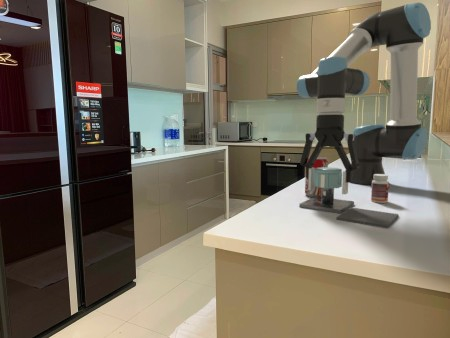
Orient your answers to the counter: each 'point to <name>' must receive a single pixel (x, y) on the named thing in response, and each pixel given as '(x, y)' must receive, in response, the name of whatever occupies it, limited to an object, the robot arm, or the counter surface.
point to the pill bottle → (380, 188)
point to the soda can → (317, 190)
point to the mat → (368, 217)
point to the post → (327, 202)
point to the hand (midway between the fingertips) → (327, 191)
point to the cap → (328, 177)
